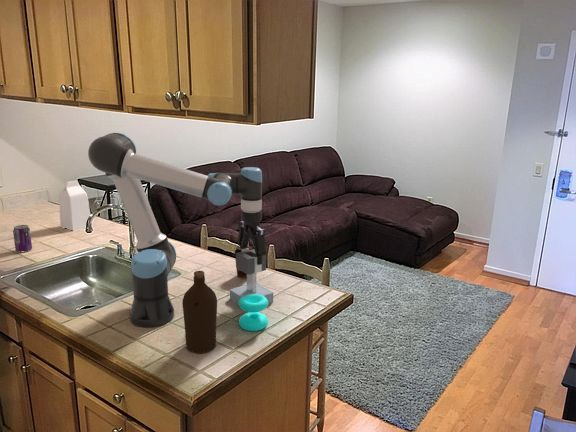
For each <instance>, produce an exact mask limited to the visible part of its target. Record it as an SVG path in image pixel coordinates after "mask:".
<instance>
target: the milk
mask: <svg viewBox="0 0 576 432" xmlns="http://www.w3.org/2000/svg"><path fill="white" fill-rule="evenodd" d="M58 203H59V205H58V206H59V220H60V221H59V222H60V224H59V225H60V228H61V227H64V228H67V229H70V230H73V231H72V232H75V231H74V230H77V229H80V230H82V229H81V228H84V229H86V228H85V225H86V221H87V219H88V217H89V215H91V209H90V208H91V207H90V203H89V197H88V193H87V192H86V191H85V190H84V189H83V187H82V186H81V185H80V184H79V180H70V181H66V183H65V185H64V188H63V189H62V190H61V191H60V193H59V195H58ZM67 229H66V230H67ZM70 230H69V231H70ZM77 231H78V230H77Z"/></svg>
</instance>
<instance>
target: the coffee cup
mask: <svg viewBox="0 0 576 432" xmlns="http://www.w3.org/2000/svg"><path fill="white" fill-rule="evenodd" d="M235 248H236V249H235V250H234V257H235V260H236V253H239V252H241V248H240V246H238V245H237V246H236V247H235ZM247 248H248V249H249V250H252V249H254V246H252V245H248V247H247ZM235 269H236V276H237V277H238V278H240V279H247V274H246V273H244V272H242V271H241V270H239V269H237V268H236V267H235Z"/></svg>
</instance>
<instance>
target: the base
mask: <svg viewBox="0 0 576 432" xmlns="http://www.w3.org/2000/svg"><path fill="white" fill-rule="evenodd" d="M249 294H259V295H262V296H264V297H266V298H267V300H268V305H270V304H272V303H274V292H273V291H272V290H270V289H268V288H266V287H264V285H261V284H259V283H258V282H256V293H251V292H250V291H248V290H247V284H244V285H241V286H238V287H233V288H230V289H229V300H230V301H232V302H233V303H235V304H237V305H239V300H240V299H241V298H242V297H243V296H245V295H249Z"/></svg>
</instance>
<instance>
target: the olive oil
mask: <svg viewBox="0 0 576 432" xmlns="http://www.w3.org/2000/svg"><path fill="white" fill-rule="evenodd" d="M181 304H182V313H183V323H184V336H185V348H186V350H187V351H188V352H191V353H194V354H205V353H209V352H211V351H213V350H214V349H215V348H216V347H217V320H218V319H217V318H218V316H217V315H218V297H217V295H216V293H215V291H214V290H213V289H212V288H211V287H210V286H208V284H206V278H205V271H203V270H195V271H194V272H193V283H192V285H191V286H190V287H189V288H188V289H187V290H186V291H185V293H184V295H183V298H182V303H181Z"/></svg>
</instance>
